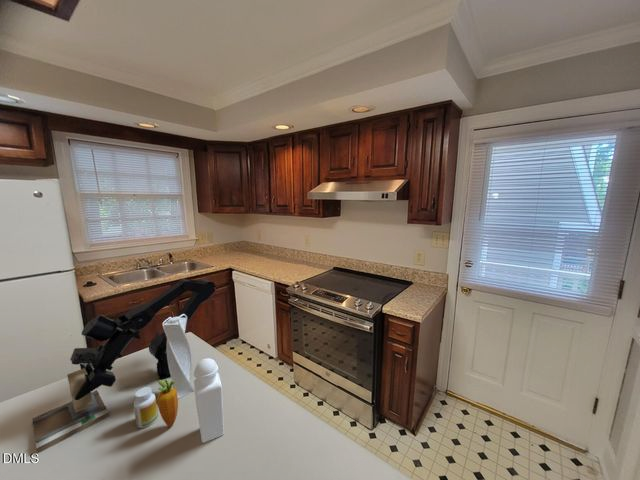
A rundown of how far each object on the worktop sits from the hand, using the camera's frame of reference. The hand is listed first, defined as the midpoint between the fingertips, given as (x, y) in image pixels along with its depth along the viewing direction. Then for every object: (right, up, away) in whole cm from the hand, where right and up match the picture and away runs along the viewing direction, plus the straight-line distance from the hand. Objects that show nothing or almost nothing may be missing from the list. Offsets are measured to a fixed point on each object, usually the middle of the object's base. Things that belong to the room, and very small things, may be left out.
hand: (74, 396), depth 80 cm
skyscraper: (+27, -5, +11) cm, 30 cm away
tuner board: (-1, -7, 0) cm, 7 cm away
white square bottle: (+43, -7, -5) cm, 44 cm away
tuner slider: (+2, -5, +1) cm, 6 cm away
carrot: (+31, -7, -3) cm, 32 cm away
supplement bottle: (+23, -7, -1) cm, 24 cm away
